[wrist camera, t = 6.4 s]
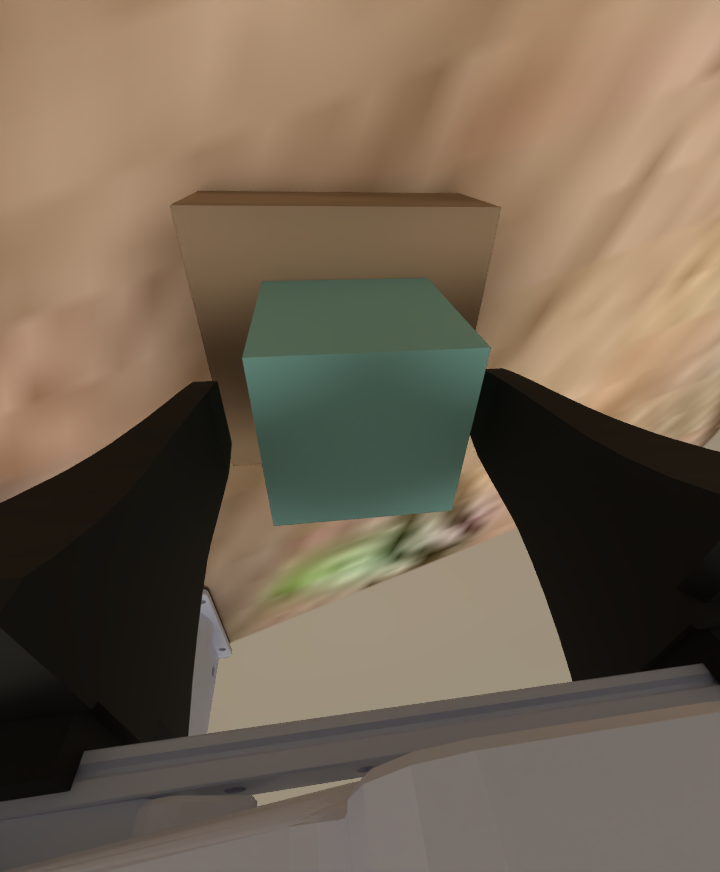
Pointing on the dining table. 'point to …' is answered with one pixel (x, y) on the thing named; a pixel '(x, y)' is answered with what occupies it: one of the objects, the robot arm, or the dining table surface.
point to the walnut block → (318, 262)
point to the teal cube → (361, 396)
